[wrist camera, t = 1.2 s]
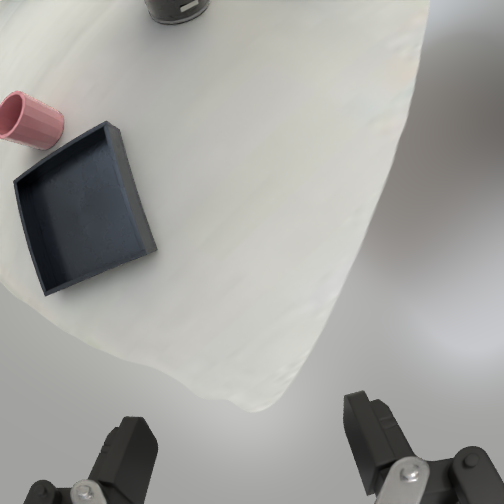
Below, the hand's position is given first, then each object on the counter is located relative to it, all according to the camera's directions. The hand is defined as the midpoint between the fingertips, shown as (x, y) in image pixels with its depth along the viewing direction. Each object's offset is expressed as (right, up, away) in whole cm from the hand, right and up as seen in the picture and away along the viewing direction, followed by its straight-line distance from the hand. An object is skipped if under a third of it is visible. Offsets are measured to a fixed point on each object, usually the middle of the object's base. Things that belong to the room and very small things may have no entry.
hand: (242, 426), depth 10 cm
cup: (-30, +25, +23) cm, 46 cm away
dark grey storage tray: (-22, +12, +25) cm, 36 cm away
